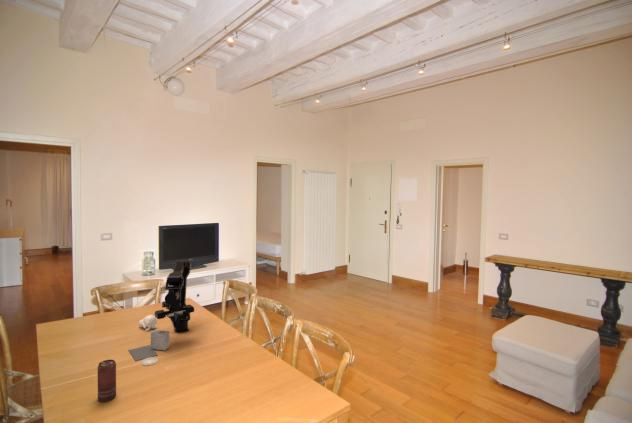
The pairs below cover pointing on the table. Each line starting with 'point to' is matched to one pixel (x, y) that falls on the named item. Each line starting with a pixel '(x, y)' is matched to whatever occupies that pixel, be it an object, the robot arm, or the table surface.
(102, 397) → the can
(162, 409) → the table surface
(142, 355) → the mat
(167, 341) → the medicine box
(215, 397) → the table surface
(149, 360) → the white glossy disc
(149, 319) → the white animal figurine
